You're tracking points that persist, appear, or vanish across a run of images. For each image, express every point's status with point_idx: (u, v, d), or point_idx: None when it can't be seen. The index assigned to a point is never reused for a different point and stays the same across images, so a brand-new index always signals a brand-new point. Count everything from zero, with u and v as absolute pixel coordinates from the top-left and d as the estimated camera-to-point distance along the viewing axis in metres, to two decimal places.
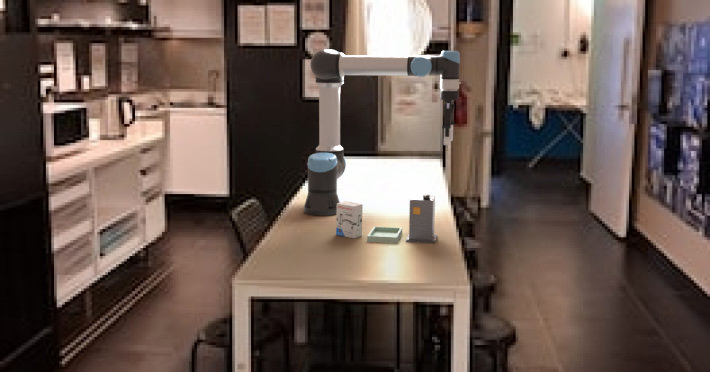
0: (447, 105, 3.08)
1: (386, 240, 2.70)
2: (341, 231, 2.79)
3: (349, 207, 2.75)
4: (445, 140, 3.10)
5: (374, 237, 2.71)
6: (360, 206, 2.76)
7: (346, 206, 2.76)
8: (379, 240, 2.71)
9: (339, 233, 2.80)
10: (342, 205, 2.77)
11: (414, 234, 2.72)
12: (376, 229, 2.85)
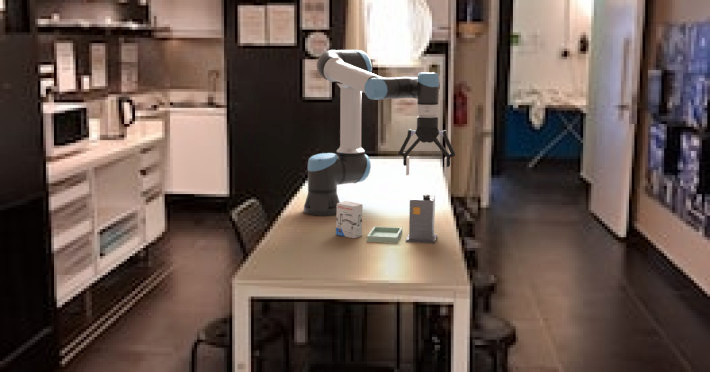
0: (408, 131, 2.81)
1: (386, 240, 2.70)
2: (341, 231, 2.79)
3: (349, 207, 2.75)
4: None
5: (374, 237, 2.71)
6: (360, 206, 2.76)
7: (346, 206, 2.76)
8: (379, 240, 2.71)
9: (339, 233, 2.80)
10: (342, 205, 2.77)
11: (414, 234, 2.72)
12: (376, 229, 2.85)
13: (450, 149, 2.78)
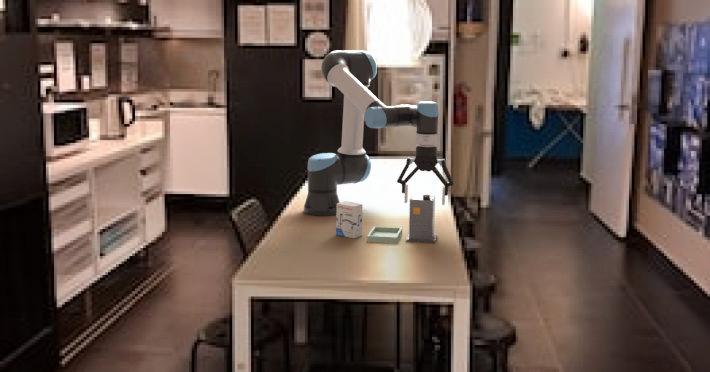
0: (407, 159, 2.83)
1: (386, 240, 2.70)
2: (341, 231, 2.79)
3: (349, 207, 2.75)
4: None
5: (374, 237, 2.71)
6: (360, 206, 2.76)
7: (346, 206, 2.76)
8: (379, 240, 2.71)
9: (339, 233, 2.80)
10: (342, 205, 2.77)
11: (414, 234, 2.72)
12: (376, 229, 2.85)
13: (448, 178, 2.80)
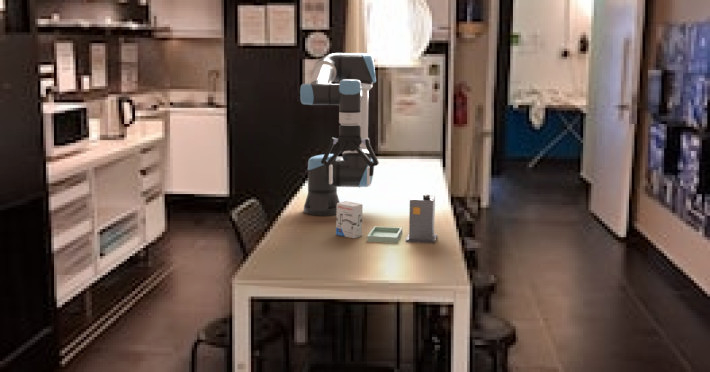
0: None
1: (386, 240, 2.70)
2: (341, 231, 2.79)
3: (349, 207, 2.75)
4: None
5: (374, 237, 2.71)
6: (360, 206, 2.76)
7: (346, 206, 2.76)
8: (379, 240, 2.71)
9: (339, 233, 2.80)
10: (342, 205, 2.77)
11: (414, 234, 2.72)
12: (376, 229, 2.85)
13: (373, 158, 2.72)
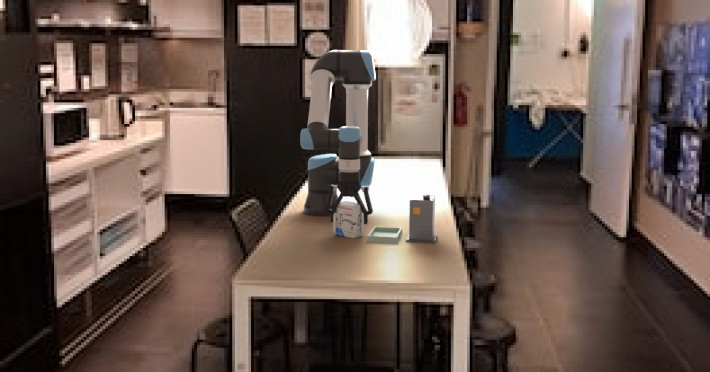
0: None
1: (386, 240, 2.70)
2: (341, 231, 2.79)
3: (349, 207, 2.75)
4: None
5: (374, 237, 2.71)
6: None
7: (346, 206, 2.76)
8: (379, 240, 2.71)
9: (339, 233, 2.80)
10: (342, 205, 2.77)
11: (414, 234, 2.72)
12: (376, 229, 2.85)
13: (368, 206, 2.76)
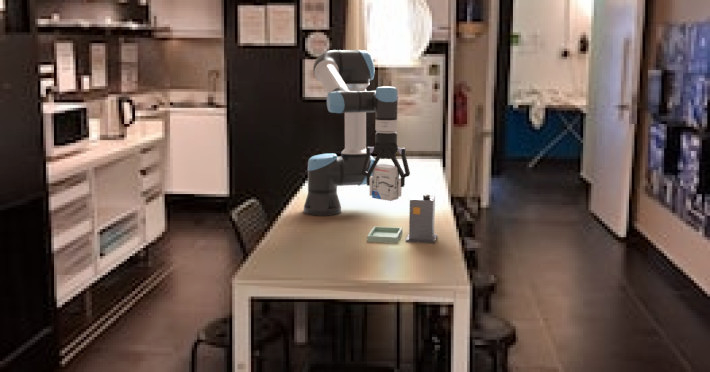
0: None
1: (386, 240, 2.70)
2: (378, 194, 2.74)
3: (386, 169, 2.70)
4: None
5: (374, 237, 2.71)
6: None
7: (383, 168, 2.71)
8: (379, 240, 2.71)
9: (375, 196, 2.75)
10: (379, 167, 2.72)
11: (414, 234, 2.72)
12: (376, 229, 2.85)
13: (405, 168, 2.71)
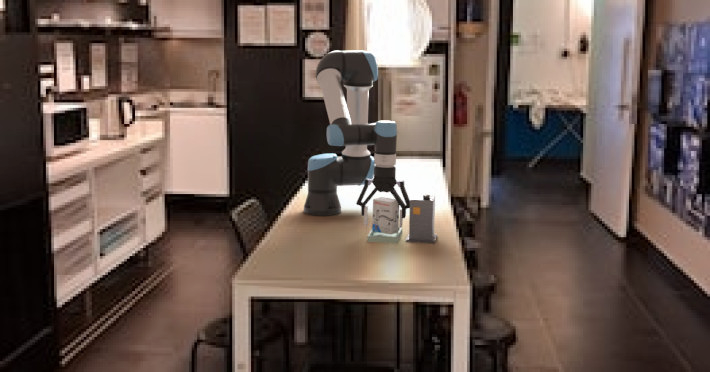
0: None
1: (386, 240, 2.70)
2: (378, 227, 2.76)
3: (386, 203, 2.72)
4: None
5: (374, 237, 2.71)
6: (397, 202, 2.74)
7: (383, 202, 2.73)
8: (379, 240, 2.71)
9: (375, 229, 2.77)
10: (379, 201, 2.74)
11: (414, 234, 2.72)
12: None
13: (406, 200, 2.73)
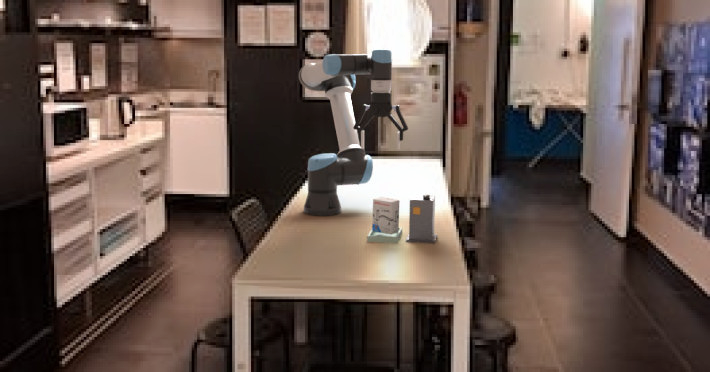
0: None
1: (386, 240, 2.70)
2: (378, 227, 2.76)
3: (386, 203, 2.72)
4: None
5: (374, 237, 2.71)
6: (397, 202, 2.74)
7: (383, 202, 2.73)
8: (379, 240, 2.71)
9: (375, 229, 2.77)
10: (379, 201, 2.74)
11: (414, 234, 2.72)
12: None
13: (403, 123, 2.88)
